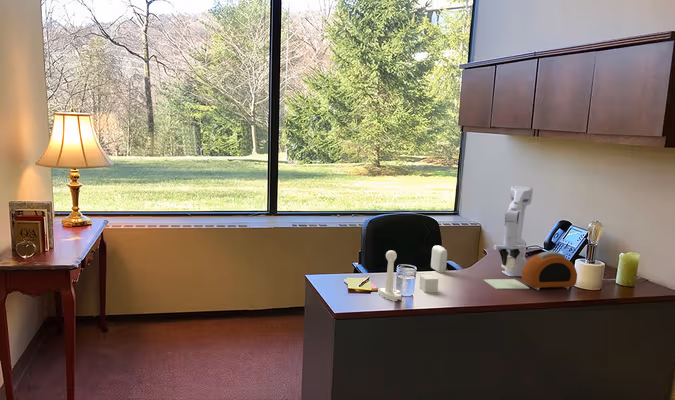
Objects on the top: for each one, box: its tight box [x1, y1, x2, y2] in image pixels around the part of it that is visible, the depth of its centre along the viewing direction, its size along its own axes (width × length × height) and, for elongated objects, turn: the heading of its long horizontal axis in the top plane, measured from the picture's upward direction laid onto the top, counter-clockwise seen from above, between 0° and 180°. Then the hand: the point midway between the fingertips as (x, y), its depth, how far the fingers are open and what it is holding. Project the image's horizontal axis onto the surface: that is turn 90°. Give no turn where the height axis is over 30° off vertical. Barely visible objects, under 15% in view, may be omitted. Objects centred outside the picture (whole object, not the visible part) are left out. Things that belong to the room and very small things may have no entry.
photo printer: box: [430, 245, 448, 274], centre depth 259 cm, size 10×4×12 cm, turn 17°
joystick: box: [378, 250, 402, 302], centre depth 216 cm, size 11×8×20 cm
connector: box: [500, 255, 517, 271], centre depth 239 cm, size 3×11×6 cm, turn 10°
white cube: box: [419, 274, 439, 293], centre depth 228 cm, size 6×6×6 cm
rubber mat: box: [483, 278, 530, 290], centre depth 241 cm, size 16×13×1 cm
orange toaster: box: [521, 250, 578, 291], centre depth 240 cm, size 23×9×17 cm, turn 103°
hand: (507, 265), depth 240 cm, fingers closed on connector, 3 cm apart
